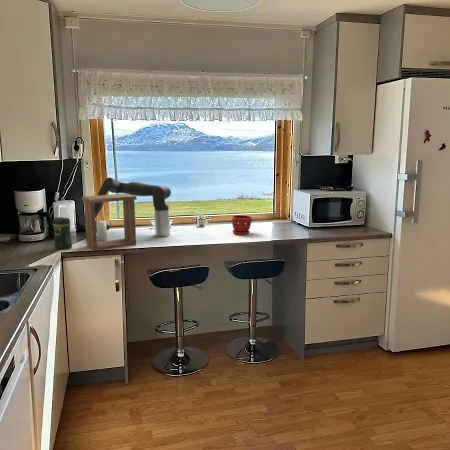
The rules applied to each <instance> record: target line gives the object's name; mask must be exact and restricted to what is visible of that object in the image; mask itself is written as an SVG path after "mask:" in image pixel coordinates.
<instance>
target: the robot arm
mask: <svg viewBox="0 0 450 450" xmlns="http://www.w3.org/2000/svg"><path fill="white" fill-rule="evenodd" d="M108 192H110V193H111V194H130V195H134V196H136V197H152V204H153V207H154V223H155V224H154V225H155V226H154V227H155V228H154V229H155V230H154V232H155V236H157V237H168V236H170V234H171V228H170V227H171V226H170V224H171V223H170V222H171V221H170V214H169V211H170V209H169V208H170V207H169V204H166V200H167V199H168V198H170V196H171V195H172V191H171V188H170V187H168V186H167V185H155V184H154V185H153V184H148V183H143V182H138V181H137V182H136V181H130V182H126V183H125V182H121V181H119V180H116V179H115V178H113V177H106V178H105V179H104V181H103V182H102V184H101V187H100V189H99V190H98V193H97V195H96V196H99V195H108ZM94 204H95V220H96V222H97V221H98V220H97V217H98V215H99V213H100V212H101V210H103V209H102V208H103V206H104V202H100V203H94ZM78 224H79V225H81V226H83V227H84V228H86V225H85V214H84V215H80V216H79V218H78ZM106 229H107V231H109V230H110V224H108V223H106ZM96 233H97V225H96Z"/></svg>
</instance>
